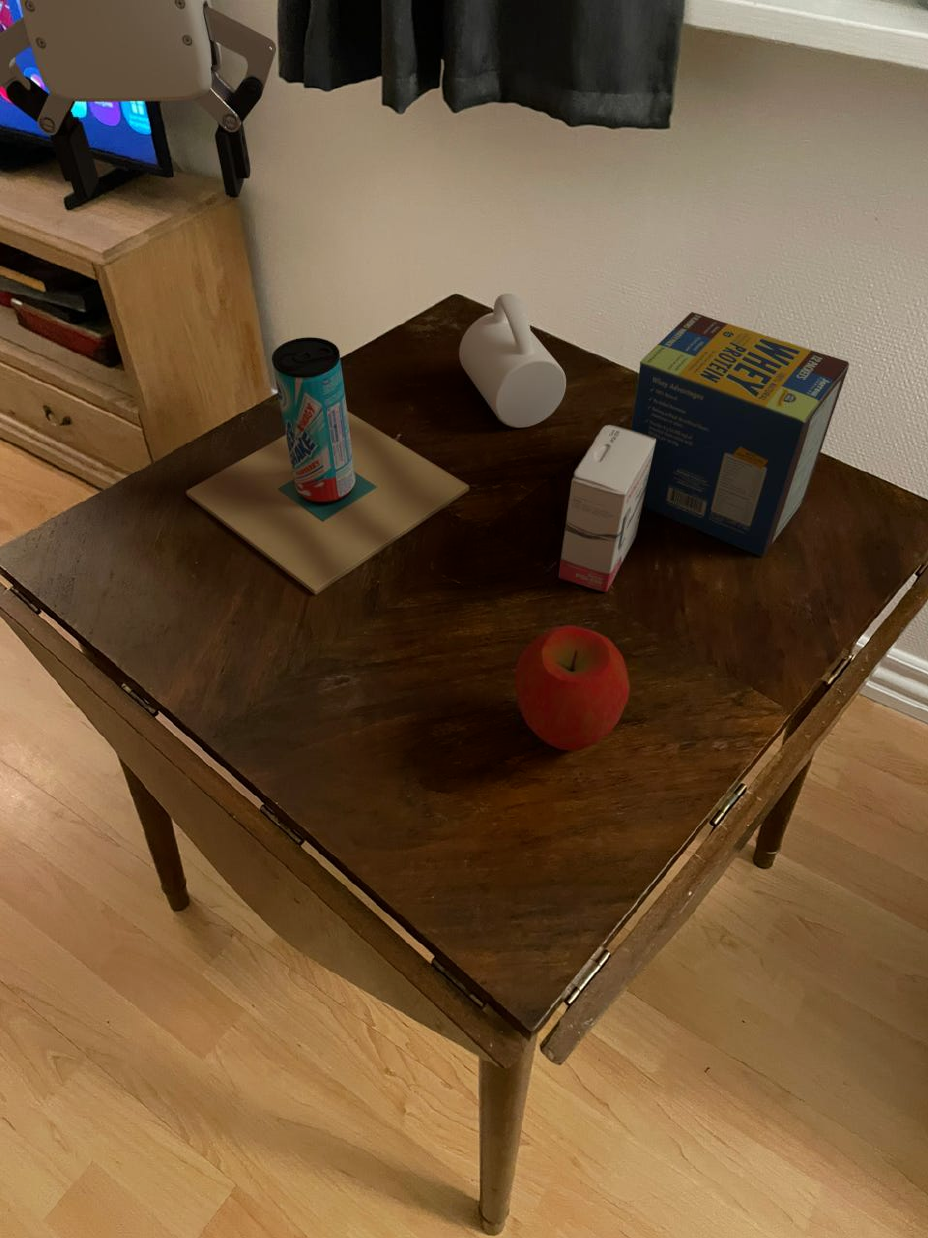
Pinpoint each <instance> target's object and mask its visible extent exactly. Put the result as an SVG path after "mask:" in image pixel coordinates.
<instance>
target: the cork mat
mask: <svg viewBox="0 0 928 1238" xmlns="http://www.w3.org/2000/svg"><path fill="white" fill-rule="evenodd" d="M347 415H348V423H349V431H350V439H351V448H352V456H353V464H354V473H355V485H354V488H353V490H352V492H351V493H350V494H349V495H348V496H347V497H346V498H345V499H343V500H341V501H339V502H336V503H332V504H325V505H322V504H314V503H311V502H308V501H307V500H305V499H304V498H302V496H301V495H300V494H299V493H298V491H297V489H296V486H295V480H294V475H293V470H292V465H291V459H290V454H289V449H288V444H287V438H286V434H285V435H283V436H281V437H279V438H278V439H276V440H273V441H272V442H270V443H269V444H267V445H265V446H263V447H261V448H260V449H258V450H256V451H254V452H253V453H251V454H249V455H247V456H245V457H244V458H242V459H240V460H238V461H236V462H235V463H233V464H231V465H230V466H228V467H226V468H224V469H222V470H221V471H219V472H217V473H215V474H214V475H211V476H210V477H209V478H207V479H205V480H203V481H201V482H200V483H198V484H196V485H194V486H192V487H191V488H188V489H187V490H185V493H186V496H187V497H188V498H190V499H191V500H192V501H193V502H195V504H197V505H198V506H200V507H201V508H202V509H203V510H205V511H206V512H207V513H209V514H210V515H211V516H212V517H214V518H215V519H216V520H218V521H219V522H220V523H221V524H223V525H224V526H225V527H227V528H228V529H229V530H230V531H232V532H233V533H235V534H236V535H237V536H239V538H241V539H242V540H244V542H246V543H247V544H249V545H250V546H252V547H253V548H254V549H255V550H256V551H258V552H259V553H261V554H262V555H263V556H264V557H266V558H267V559H269V561H271V563H273V564H275V565H276V566H277V567H279V569H281V570H282V571H284V572H285V573H286V574H288V575H289V576H290V577H292V578H293V579H294V580H295V581H296V582H298V583H299V584H300V585H302V586H303V587H305V588H306V589H307V590H308V591H310V592H311V593H312V594H314V595H318V594H320V593H321V592H322V591H324V590H325V589H326V588H328V587H330V586H331V585H333V584H334V583H335V582H337V581H339V580H340V579H341V578H343V577H345V576H346V575H347V574H349V573H350V572H352V571H353V570H354V569H357V568H358V567H359V566H360V565H362V564H363V563H365V562H366V561H368V560H369V559H371V558H372V557H373V556H375V555H377V554H378V553H379V552H381V551H382V550H384V549H385V548H387V547H388V546H390V545H391V544H393V543H394V542H396V541H397V540H399V539H400V538H401V537H403V536H404V535H406V534H407V533H409V532H410V531H412V530H413V529H415V528H416V527H418V526H420V525H421V524H422V523H424V522H425V521H427V520H428V519H429V518H431V517H432V516H434V515H435V514H436V513H439V511H441V510H443V509H444V508H445V507H447V506H448V505H450V504H452V503H453V502H454V501H456V500H458V499H459V498H460V497H462V496H463V495H464V494H466V493H468V491H470V485H469V484H467V483H465V482H464V481H462V480H461V479H459V478H458V477H456V476H454V475H452V474H451V473H449V472H447V471H446V470H444V469H442V468H441V467H439V466H437V465H436V464H434V463H433V462H432V461H430V460H428V459H426V458H425V457H423V456H421V455H420V454H418V453H417V452H415V451H414V450H412V449H410V448H409V447H407V446H405V445H404V444H402V443H400V442H398V441H397V440H395V439H393V438H392V437H390V436H389V435H388V434H385V433H384V432H382V431H380V430H379V429H377V428H376V427H374V426H372V425H371V424H370V423H368V422H366V421H365V420H362V419H361V418H359V417H358V416H356V415H354V414H353V413H351V412H349V411H348V410H347Z"/></svg>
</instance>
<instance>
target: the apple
mask: <svg viewBox="0 0 928 1238" xmlns="http://www.w3.org/2000/svg"><path fill="white" fill-rule="evenodd" d="M514 673H515V674H514V682H513V686H514V691H515V695H516V700H517V704H518V707H519V709H520V712H521V715H522V717H523V719H524V722H525V724H526V726H527V727H528V728H529V729H530V730H532V732H533V733H534V734H535V736H537V737H538V738H539V739H541V740H542V741H543V742H544V743H546V744H548V745H549V746H551V747H554V748H555V749H558V750H563V751H572V752H575V751H579V750H584V749H586V748H588V747H591V746H593V745H595V744H597V743H598V742H599V741H600V740H602V739H603V738H605V736H607V735H608V734H609V733H611V731H612V730H613V729H614V727H616V725H617V724H618V723H619V721H620V718H621V717H622V714H623V712H624V709H625V707H626V705H627V702H628V700H629V697H630V689H631V685H630V680H629V675H628V670H627V667H626V662H625V659H624V656H623V655H622V653H621V652H620V651H619V649H618V648H617V646H616V645H615V644H614V643H613V642H612V641H611V640H610V639H609V637H607V636H605V635H603V634H601V633H599V632H598V631H596V630H592V629H588V628H585V627H581V626H577V625H574V624H573V625H572V624H567V625H561V626H554V627H552V628H550V629H548V630H546V631H545V632H544V633H542V634H540V635H538V636H537V637H536V638H534V639H533V640H532V641H531V642H530V643H529V644H527V646H526V647H525V649H524V650H523V651H522V652H521V654H520V656H519V657H518V659H517V663H516V666H515V672H514Z"/></svg>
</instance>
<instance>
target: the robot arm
mask: <svg viewBox="0 0 928 1238" xmlns="http://www.w3.org/2000/svg"><path fill="white" fill-rule="evenodd" d="M18 1H19V5H20V8H21V13H22V16H21V17H20V18H19V19H18V20H16V21H15V22H13V24H11V25H10V26H8V27H7V28H5V30H3V31H2V32H0V88H2V89H3V90H4V92H5V94H6V97H7V99H8V100H9V102H10V103H11V104H13V106H15V107H16V108H18V109H19V110H20V111H22V112H23V113H24V114H26V115H27V116H28V117H29V118H31V119H32V120H34V121H35V122H36V123H37V126H38V128H39V130H40V131H41V132H42V133H43V134H45V135H46V136H49V137H50V140H51V144H52V147H53V149H54V153H55V156H56V159H57V162H58V165H59V168H60V171H61V175H62V177H63V179H64V181H65V182H70V184H71V187H72V190H73V193H74V197H75V199H76V200H77V201H87V200H88V199H89V198H90V197H91V196H92V194H93V192H94V190H95V189H96V187H97V185H98V184H99V181H100V178H99V174H98V170H97V168H96V167H97V166H96V164H95V160H94V157H93V153H92V150H91V147H90V144H89V140H88V137H87V134H86V130H85V127H84V123H83V122H82V121H81V120H80V118H79V116H74V114H73V112H72V110H73V108H74V106H75V104H76V103H77V102H78V103H114V102H116V103H118V102H119V103H121V102H122V103H123V102H168V101H169V102H170V101H171V102H172V101H187V100H189V101H190V100H193V99H194V100H195V102H197V103H198V105H199V106H201V107H202V109H204V111H206V112H207V113H208V114H209V115H210V116H211V117H212V118H213V120H214V121H215V122H216V123H217V128H216V131H215V133H214V141H215V146H216V150H217V157H218V161H219V165H220V172H221V176H222V181H223V186H224V192H225V195H226V196H228V197H229V198H230V199H233V198H235V199H236V198H239V196H240V194H241V191H242V187H243V185H244V182H245V179H250V177H251V162H250V156H249V151H248V145H247V137H246V133H245V127H244V121H245V120H246V119H247V117H248V116H249V114H250V113H251V112H252V110H253V109H254V108H255V106H256V105H257V104H258V102H259V101H260V100H261V98H262V97H263V93H264V90H265V87H266V84H267V80H268V77H269V74H270V71H271V68H272V66H273V62H274V59H275V55H276V52H277V46H276V43H275V42H274V40H273V39H271V38H269V37H267V36H265V35H264V34H262V33H260V32H258V31H256V30H254V29H252V28H251V27H248V26H247V25H244V24H242V23H241V22H239V21H237V20H235V19H233V18H231V17H230V16H227V15H226V14H224V13H222V12H220V11H218V10H216V9H214V8H213V6H212V1H211V0H18ZM221 46H222V47H224V48H226V49H227V50H229V51H232V52H233V53H235V54H237V55H239V56H241V57H243V58H244V60H245V61H246V63H247V68H246V72H245V76H244V78H243V79H242V81H241V82H240V83H239V84H238V86H237V87H236V89H234V87H232V85H230V83H229V82H227V80H226V79H225V78H224V77H223V76H222V75H221V74H220V73H219V72H218V71H219V70H220V69H221V68H222V62H223V55H222V47H221ZM28 48H31V51H32V55H33V58H34V61H35V64H36V67H37V70H38V74H39V76H40V78H41V80H42V82H43V84H44V86H45V87H46V89H47V90H48V91H46V89H44V88H42V87H41V86H40V85H39V84H37V82H35V81H33V79H31V78H30V77H28V76H27V75H25V74H24V73H23V71H22V69H21V67H20V66H19V65H18V63H17V61H16V57H17V56H18V55H20V54H21V53H22V52H24V51H26V50H27V49H28Z"/></svg>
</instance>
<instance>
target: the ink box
mask: <svg viewBox="0 0 928 1238" xmlns="http://www.w3.org/2000/svg"><path fill="white" fill-rule="evenodd" d="M655 443H656V439H655V438H653V437H650V436H647V435H644V434H641V433H638V432H635V431H631V429H628V428H624V427H620V426H616V425H613V424H607V425H604V426H603V427H601V429H600V431H599V433H598V434H597V435H596V437H595V438H594V440H593V442H592V443H591V445H590V446H589V447H588V449H587V451H586V453H585V455H584V456H583V458H582V459H581V460H580V462H579V463H578V465H577V466H576V469H575V470H574V472H573V477H572V479H571V485H570V490H569V498H568V504H567V505H568V506H567V511H566V519H565V527H564V534H563V535H564V536H563V541H562V548H561V555H560V563H559V570H558V578H559V579H561V580H564V581H567V582H570V583H573V584H576V585H580V586H582V587H586V588H589V589H591V590H595V591H599V592H603V593H607V592H608V591H609V589H610V587H611V585H612V583H613V582H614V580H615V578H616V576H617V574H618V572H619V569H620V568H621V566H622V563H623V562H624V560H625V558H626V557H627V554H628V552H629V550H630V549H631V547H632V544H633V543H634V541H635V539H636V536H637V532H638V527H639V523H640V517H641V513H642V508H643V506H642V504H643V499H644V494H645V489H646V485H647V480H648V475H649V471H650V466H651V461H652V456H653V452H654V447H655Z"/></svg>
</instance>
